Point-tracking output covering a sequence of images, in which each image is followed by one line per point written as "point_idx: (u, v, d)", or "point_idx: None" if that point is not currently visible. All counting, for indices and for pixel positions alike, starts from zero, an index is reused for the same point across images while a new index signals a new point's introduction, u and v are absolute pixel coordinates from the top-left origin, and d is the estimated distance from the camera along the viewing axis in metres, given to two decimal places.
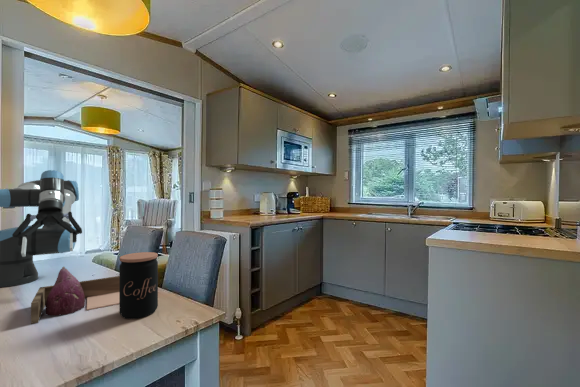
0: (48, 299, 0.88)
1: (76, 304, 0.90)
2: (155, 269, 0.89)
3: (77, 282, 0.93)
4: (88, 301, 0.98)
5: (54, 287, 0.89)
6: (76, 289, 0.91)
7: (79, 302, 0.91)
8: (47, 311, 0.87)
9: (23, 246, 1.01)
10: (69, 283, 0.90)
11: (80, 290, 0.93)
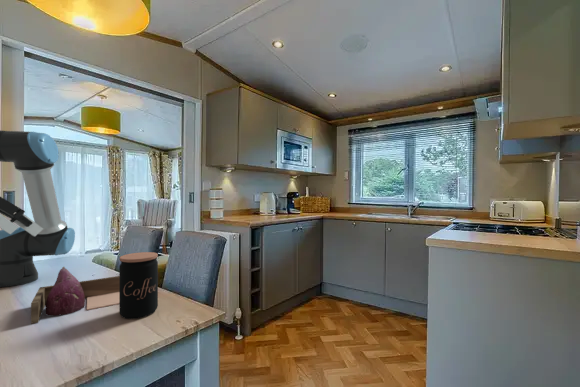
0: (48, 299, 0.88)
1: (76, 304, 0.90)
2: (155, 269, 0.89)
3: (77, 282, 0.93)
4: (88, 301, 0.98)
5: (54, 287, 0.89)
6: (76, 289, 0.91)
7: (79, 302, 0.91)
8: (47, 311, 0.87)
9: (1, 228, 0.83)
10: (69, 283, 0.90)
11: (80, 290, 0.93)
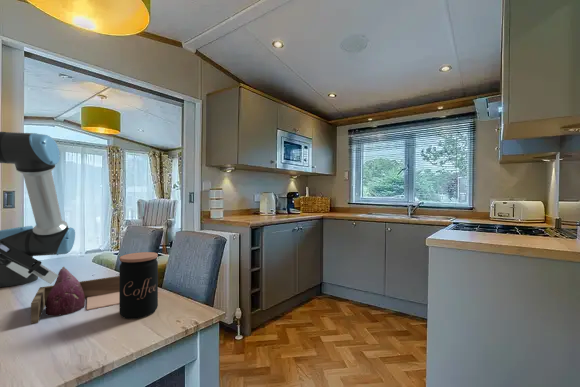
0: (48, 299, 0.88)
1: (76, 304, 0.90)
2: (155, 269, 0.89)
3: (77, 282, 0.93)
4: (88, 301, 0.98)
5: (54, 287, 0.89)
6: (76, 289, 0.91)
7: (79, 302, 0.91)
8: (47, 311, 0.87)
9: (18, 273, 0.86)
10: (69, 283, 0.90)
11: (80, 290, 0.93)
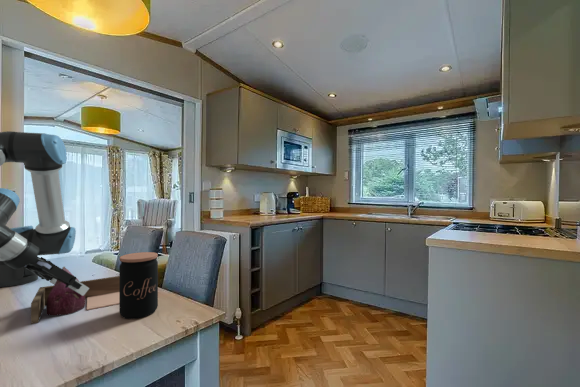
0: (48, 299, 0.88)
1: (76, 304, 0.90)
2: (155, 269, 0.89)
3: None
4: (88, 301, 0.98)
5: (54, 287, 0.89)
6: None
7: (80, 302, 0.91)
8: (47, 311, 0.87)
9: None
10: None
11: None
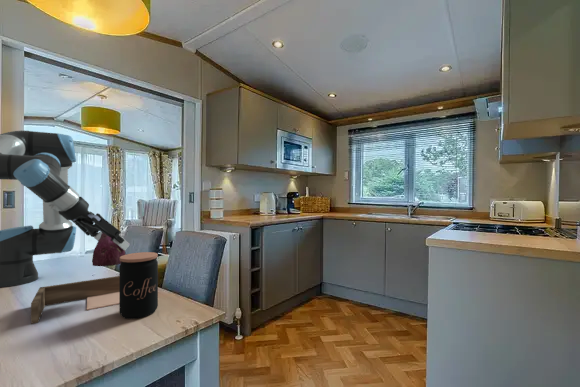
0: (95, 251, 0.96)
1: (119, 257, 0.98)
2: (155, 269, 0.89)
3: None
4: (88, 301, 0.98)
5: (100, 241, 0.97)
6: None
7: None
8: (94, 262, 0.95)
9: None
10: None
11: None
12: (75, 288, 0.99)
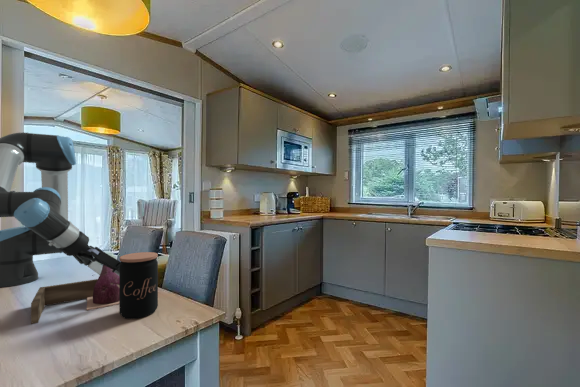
0: (95, 289, 0.96)
1: None
2: (155, 269, 0.89)
3: None
4: (88, 301, 0.98)
5: (100, 278, 0.97)
6: None
7: None
8: (95, 300, 0.95)
9: (96, 272, 1.02)
10: (113, 274, 0.98)
11: None
12: (75, 288, 0.99)
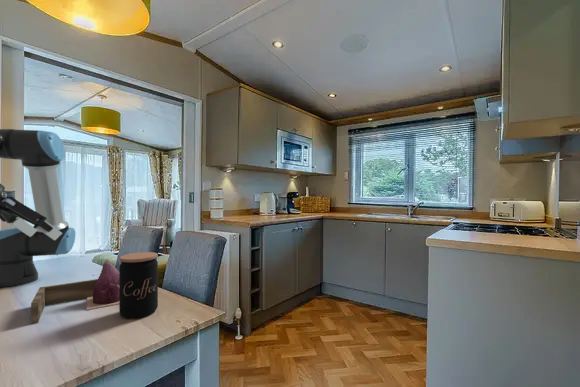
0: (95, 289, 0.96)
1: None
2: (155, 269, 0.89)
3: None
4: (88, 301, 0.98)
5: (100, 278, 0.97)
6: None
7: None
8: (95, 300, 0.95)
9: (22, 231, 0.89)
10: (113, 274, 0.98)
11: None
12: (75, 288, 0.99)
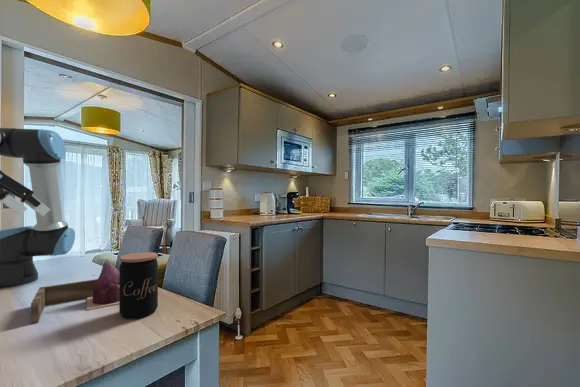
0: (95, 289, 0.96)
1: None
2: (155, 269, 0.89)
3: None
4: (88, 301, 0.98)
5: (100, 278, 0.97)
6: None
7: None
8: (95, 300, 0.95)
9: (12, 209, 0.90)
10: (113, 274, 0.98)
11: None
12: (75, 288, 0.99)
